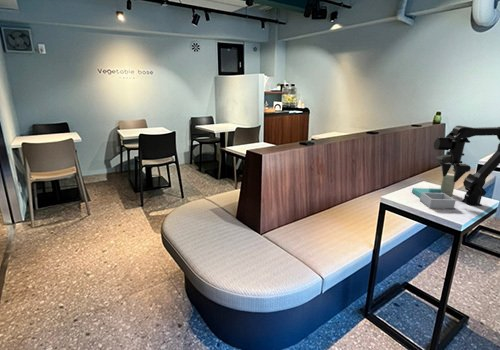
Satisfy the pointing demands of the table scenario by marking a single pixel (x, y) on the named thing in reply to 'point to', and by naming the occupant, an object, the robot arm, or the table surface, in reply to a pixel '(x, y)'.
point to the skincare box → (448, 184)
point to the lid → (425, 191)
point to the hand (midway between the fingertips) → (449, 179)
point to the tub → (437, 200)
